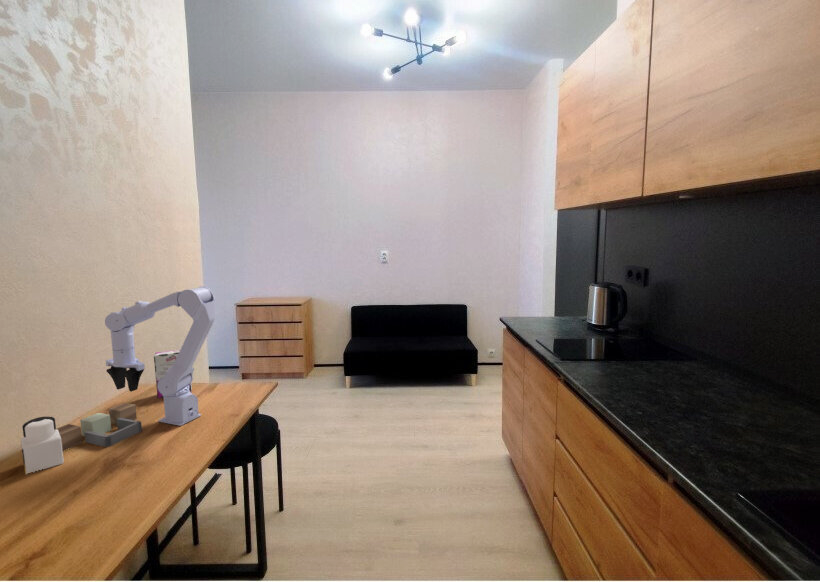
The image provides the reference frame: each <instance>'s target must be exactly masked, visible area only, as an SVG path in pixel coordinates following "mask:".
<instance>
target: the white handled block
mask: <svg viewBox="0 0 820 582" xmlns="http://www.w3.org/2000/svg"><path fill="white" fill-rule="evenodd" d="M56 425H57V424H56V418H55V417H54V416H40V417H35V418H33V419H29V420H28V421H26V422H24V423H23V424H22V434H23V437H22V438H20V447H21V452H22V455H21V456H22V461H23V469H24V475H28V474H27V473H30V472H33V473H36V472H35V471H37V472H39V471H38V470H40V471H43V470H46V469H50V468H53V467H57V466H58V465H59V466H60V465H62V464H64V462H65V461H64V453H63V452H64V451H62V442H61V437H60V434H59V431H58V430H57V427H56ZM42 469H43V470H42ZM30 474H31V473H30Z"/></svg>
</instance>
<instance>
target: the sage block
mask: <svg viewBox="0 0 820 582" xmlns="http://www.w3.org/2000/svg"><path fill="white" fill-rule="evenodd" d="M79 421H80V427H81V435H82V437H85V433H84V432H86V431H92V432H97V433H101V434H107V433H109V432H111V431H112V424H111V421H110V415H109V413H102V412H97V413H94V414H92V415H89V416H86V417H84V418H83V417H82V418H80V420H79Z"/></svg>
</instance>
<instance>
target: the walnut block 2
mask: <svg viewBox="0 0 820 582" xmlns="http://www.w3.org/2000/svg"><path fill="white" fill-rule="evenodd" d="M108 415H110V421H111V425H115V426H117V419H118V418H125V419H130V420H135V421H137V420H138V417H137V406H136V404H134V403H128V402H123V403H121V404H117V405H114V406H113V407H109V408H108Z"/></svg>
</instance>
